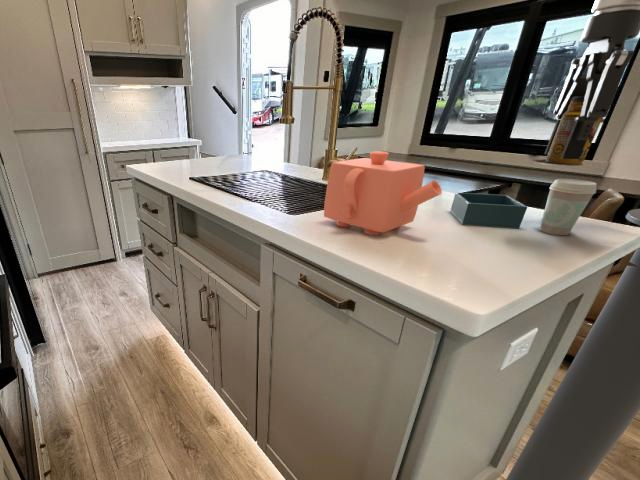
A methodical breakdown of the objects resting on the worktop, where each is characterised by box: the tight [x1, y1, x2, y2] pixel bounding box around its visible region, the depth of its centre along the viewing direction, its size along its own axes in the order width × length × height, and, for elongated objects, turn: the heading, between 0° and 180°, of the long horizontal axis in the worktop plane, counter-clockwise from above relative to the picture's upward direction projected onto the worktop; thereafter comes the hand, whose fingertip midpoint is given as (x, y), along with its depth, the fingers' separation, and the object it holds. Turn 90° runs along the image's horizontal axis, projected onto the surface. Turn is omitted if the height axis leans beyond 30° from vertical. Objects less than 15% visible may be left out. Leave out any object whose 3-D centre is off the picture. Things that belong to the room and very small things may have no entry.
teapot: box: [323, 150, 442, 236], centre depth 87 cm, size 25×23×18 cm
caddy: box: [449, 192, 528, 230], centre depth 97 cm, size 13×13×6 cm
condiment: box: [527, 96, 603, 167], centre depth 70 cm, size 7×8×12 cm
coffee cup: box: [539, 178, 597, 236], centre depth 86 cm, size 8×8×12 cm
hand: (560, 156), depth 73 cm, fingers closed on condiment, 6 cm apart
